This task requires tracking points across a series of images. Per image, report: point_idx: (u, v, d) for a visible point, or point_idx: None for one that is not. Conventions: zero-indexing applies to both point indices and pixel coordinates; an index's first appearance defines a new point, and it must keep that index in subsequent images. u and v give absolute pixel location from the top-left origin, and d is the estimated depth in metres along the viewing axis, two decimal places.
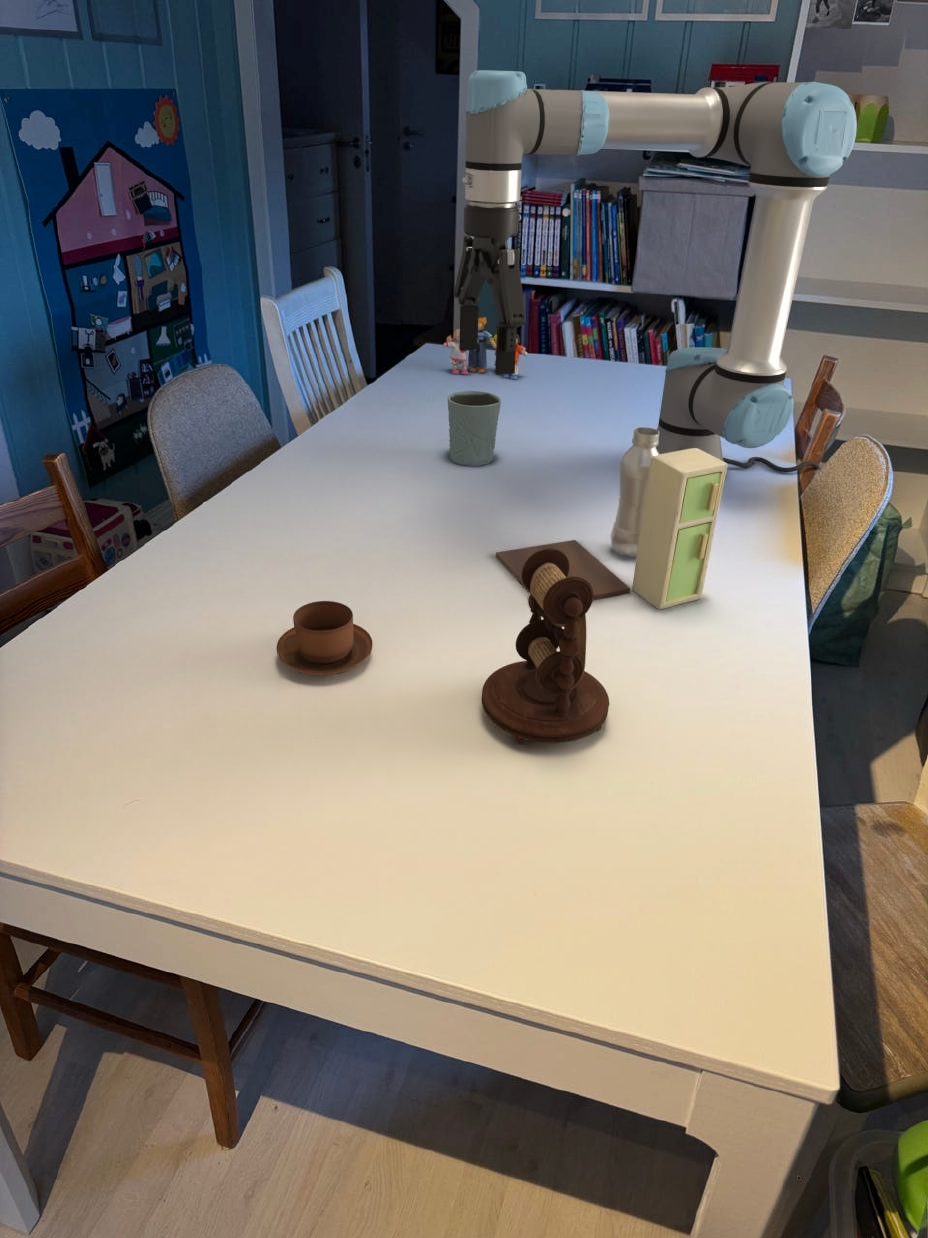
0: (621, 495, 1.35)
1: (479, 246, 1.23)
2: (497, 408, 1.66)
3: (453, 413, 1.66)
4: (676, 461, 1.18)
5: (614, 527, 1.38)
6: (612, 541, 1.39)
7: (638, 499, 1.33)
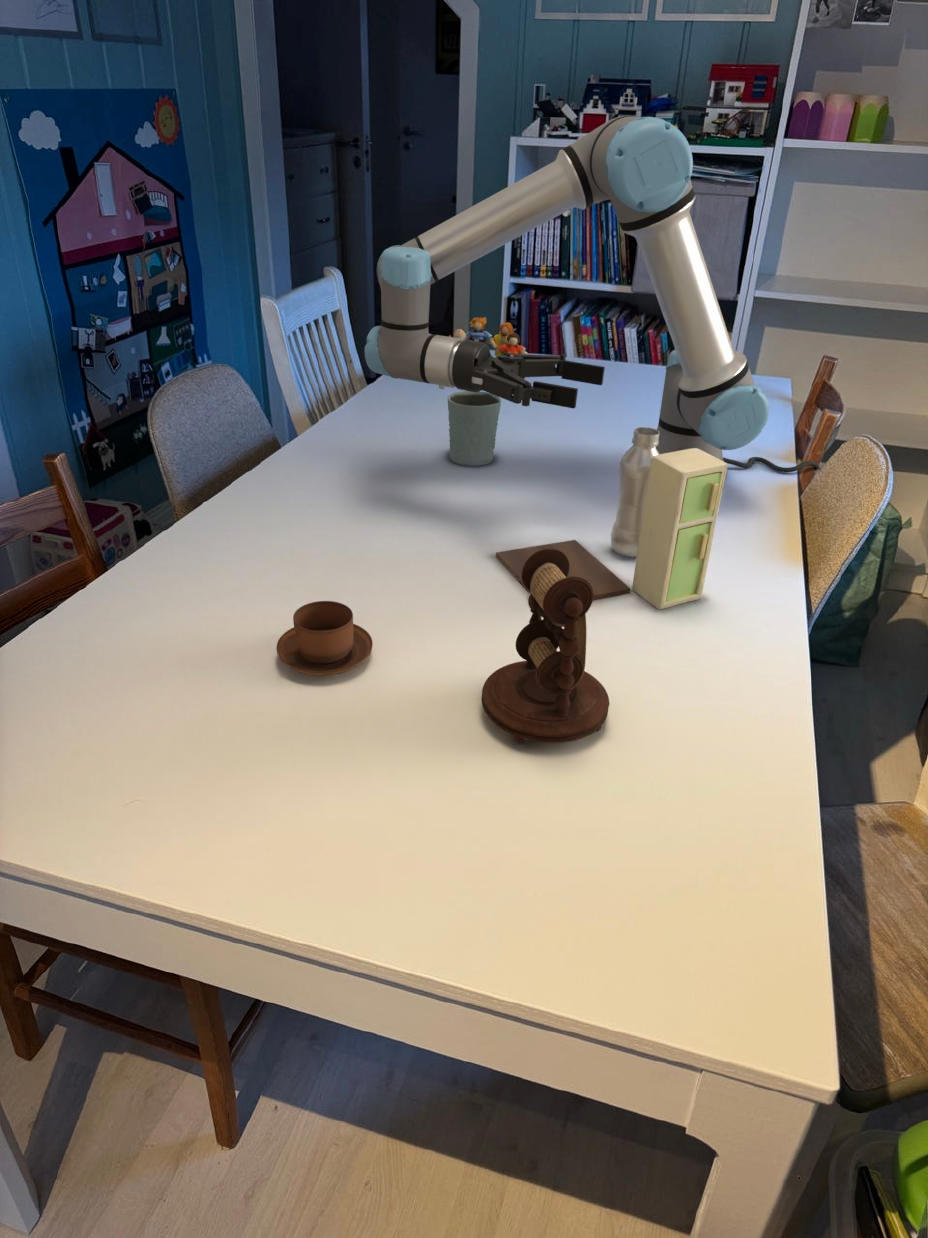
0: (621, 495, 1.35)
1: None
2: (497, 408, 1.66)
3: (453, 413, 1.66)
4: (676, 461, 1.18)
5: (614, 527, 1.38)
6: (612, 541, 1.39)
7: (638, 499, 1.33)
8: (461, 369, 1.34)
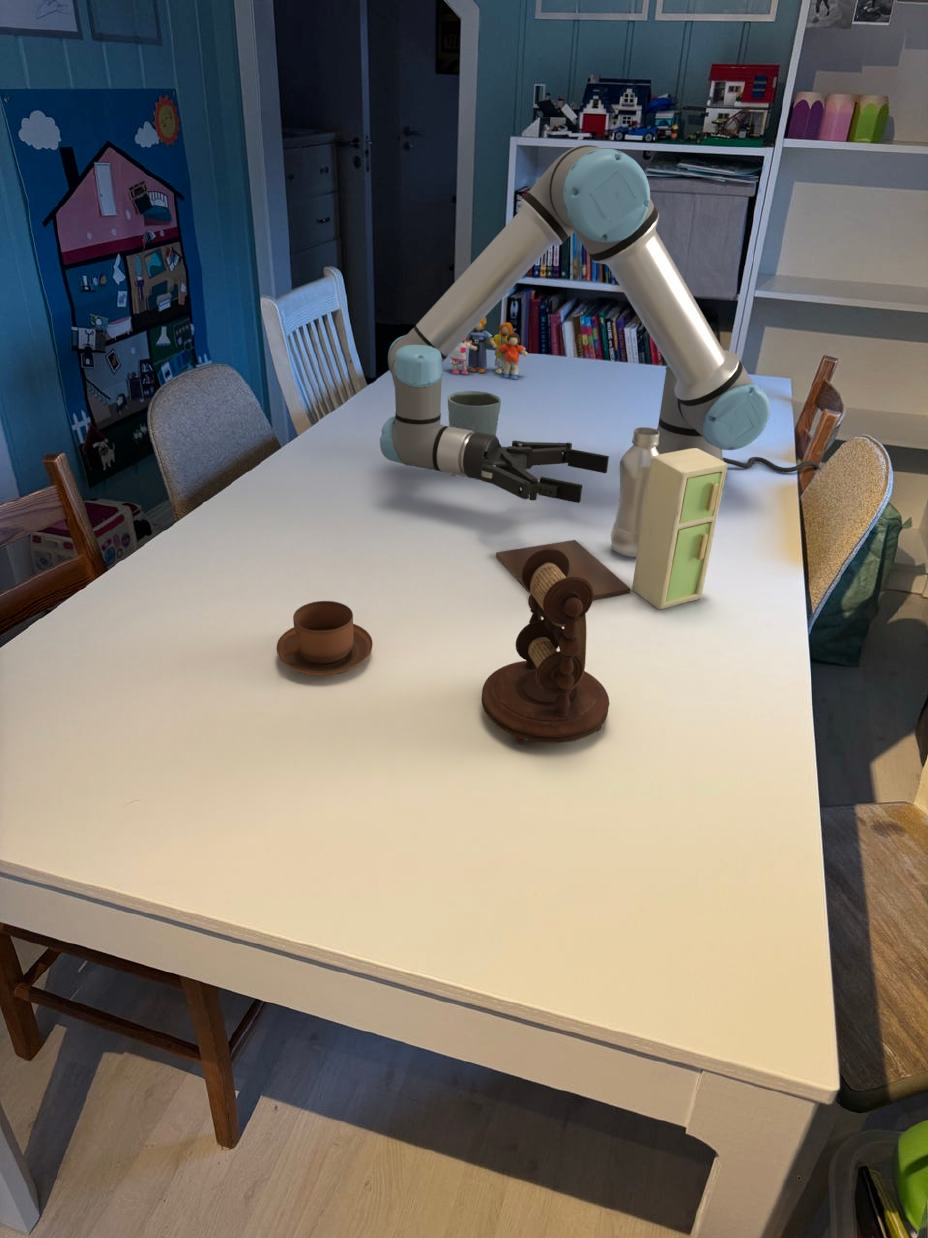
0: (621, 495, 1.35)
1: None
2: (497, 408, 1.66)
3: (453, 413, 1.66)
4: (676, 461, 1.18)
5: (614, 527, 1.38)
6: (612, 541, 1.39)
7: (638, 499, 1.33)
8: (471, 461, 1.41)
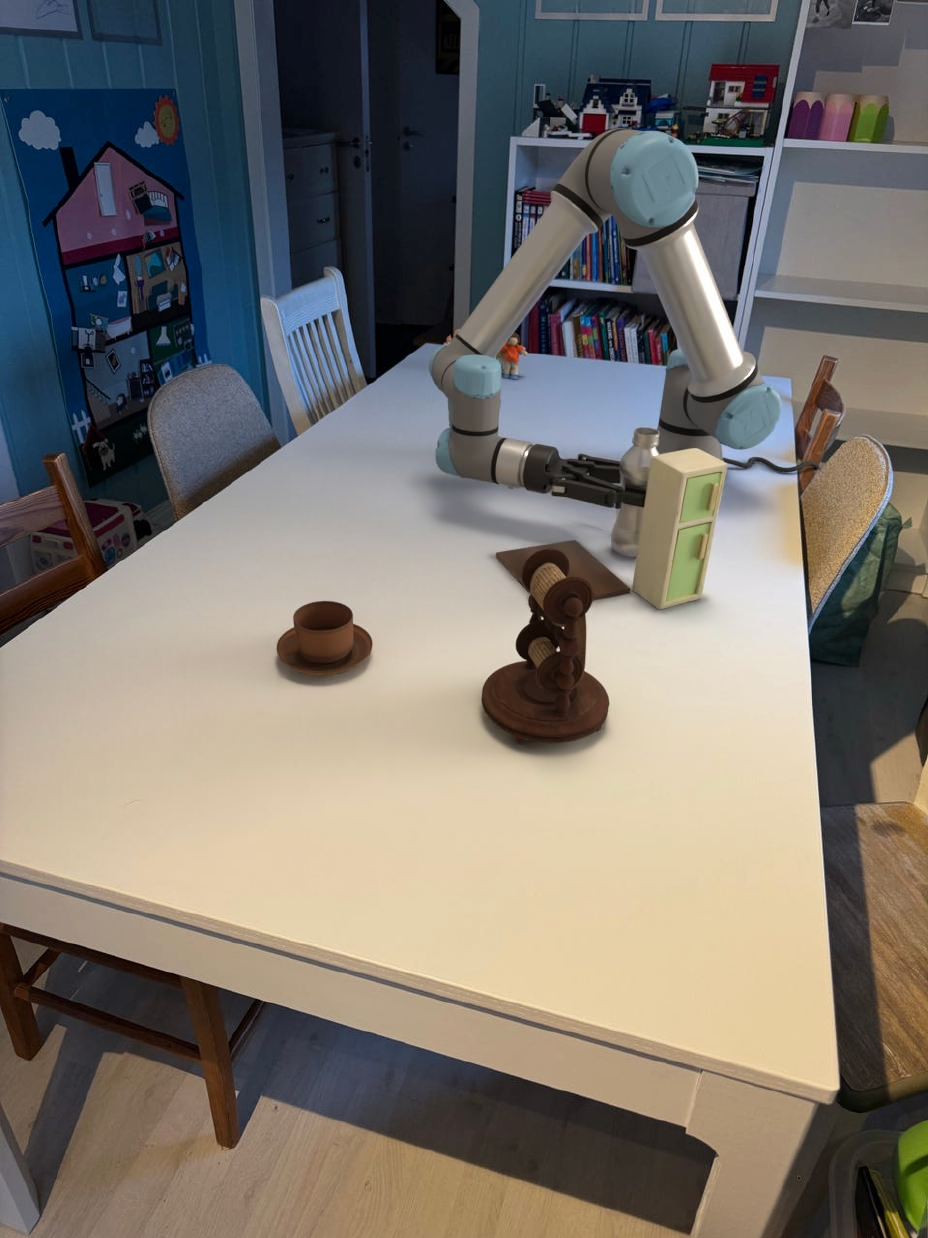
0: None
1: None
2: None
3: None
4: (676, 461, 1.18)
5: (614, 527, 1.38)
6: (612, 541, 1.39)
7: None
8: (532, 474, 1.37)
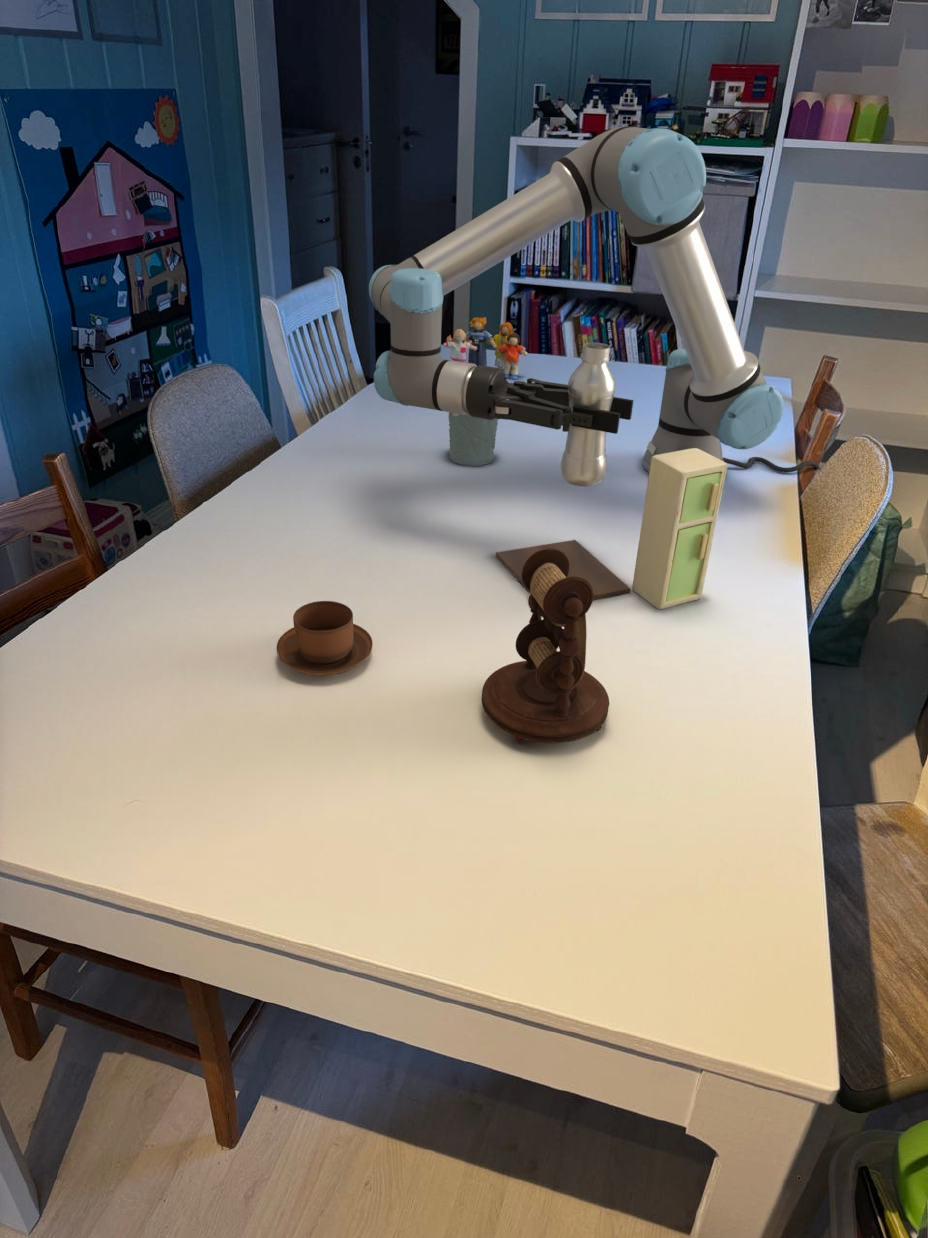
0: None
1: None
2: None
3: None
4: (676, 461, 1.18)
5: (564, 454, 1.28)
6: (562, 470, 1.29)
7: None
8: (475, 397, 1.27)
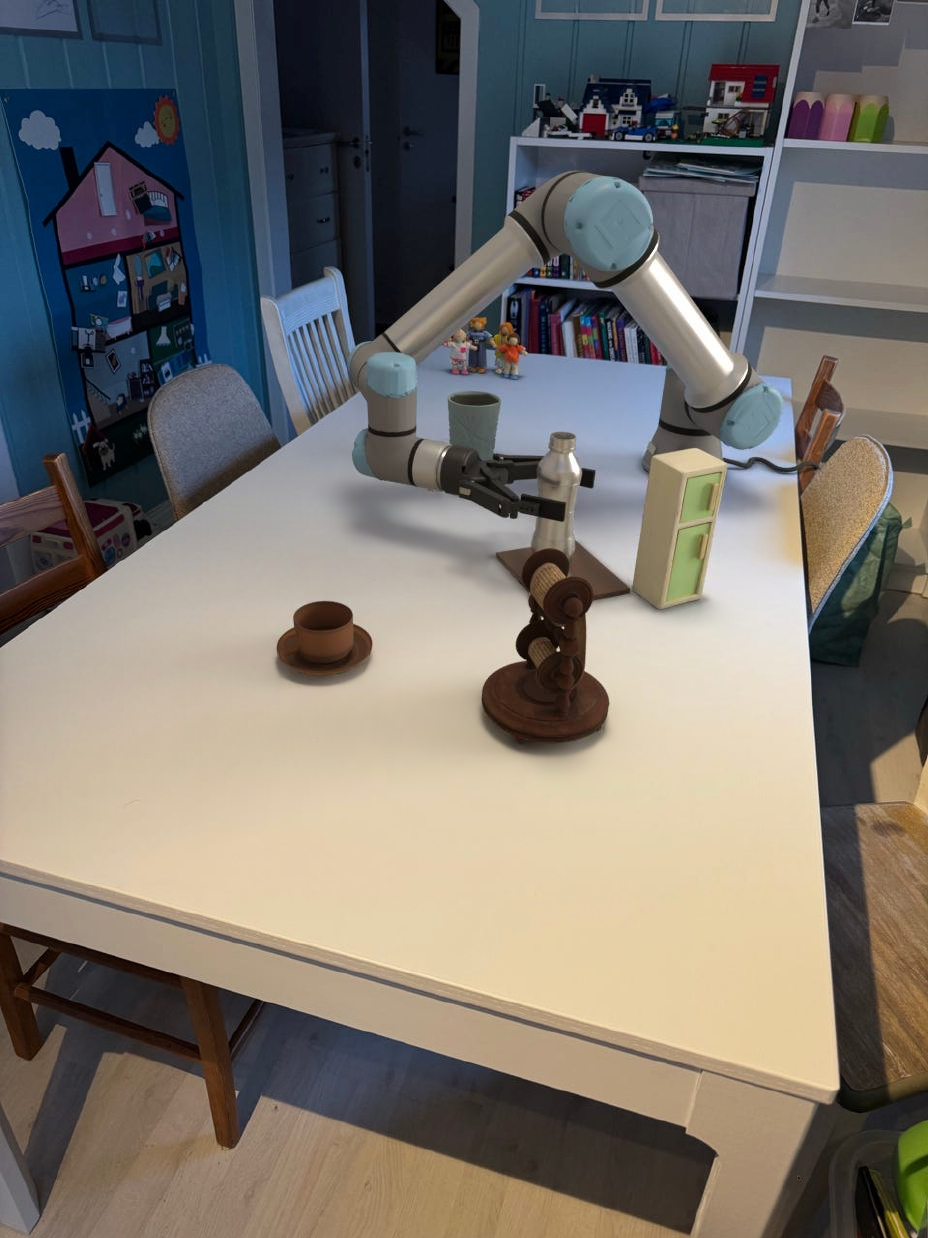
0: None
1: None
2: (497, 408, 1.66)
3: (453, 413, 1.66)
4: (676, 461, 1.18)
5: (534, 535, 1.33)
6: (532, 549, 1.34)
7: None
8: (449, 477, 1.32)
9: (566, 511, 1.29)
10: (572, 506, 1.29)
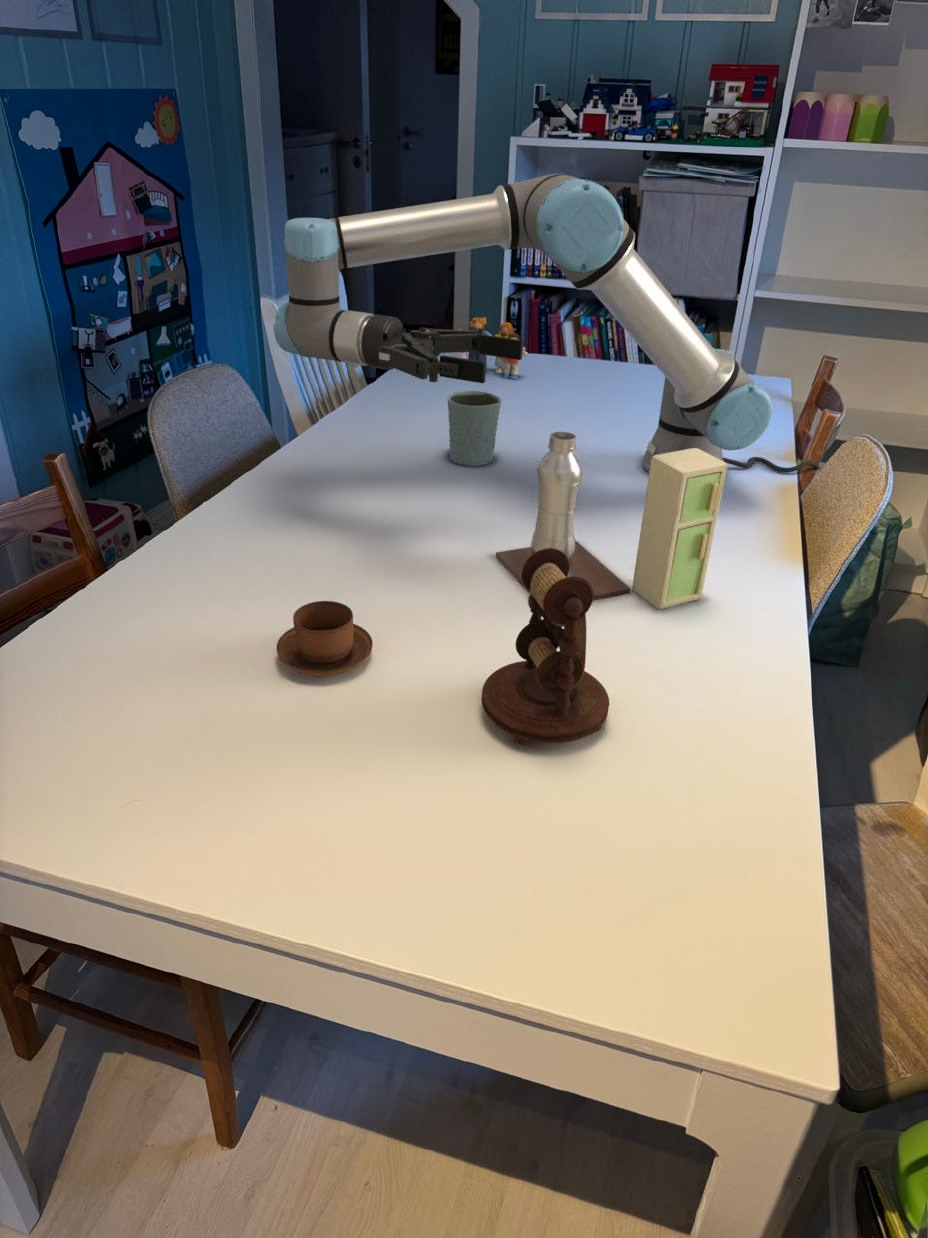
0: (539, 502, 1.30)
1: None
2: (497, 408, 1.66)
3: (453, 413, 1.66)
4: (676, 461, 1.18)
5: (534, 535, 1.33)
6: (532, 549, 1.34)
7: (556, 506, 1.28)
8: (370, 345, 1.27)
9: (566, 511, 1.29)
10: (572, 506, 1.29)
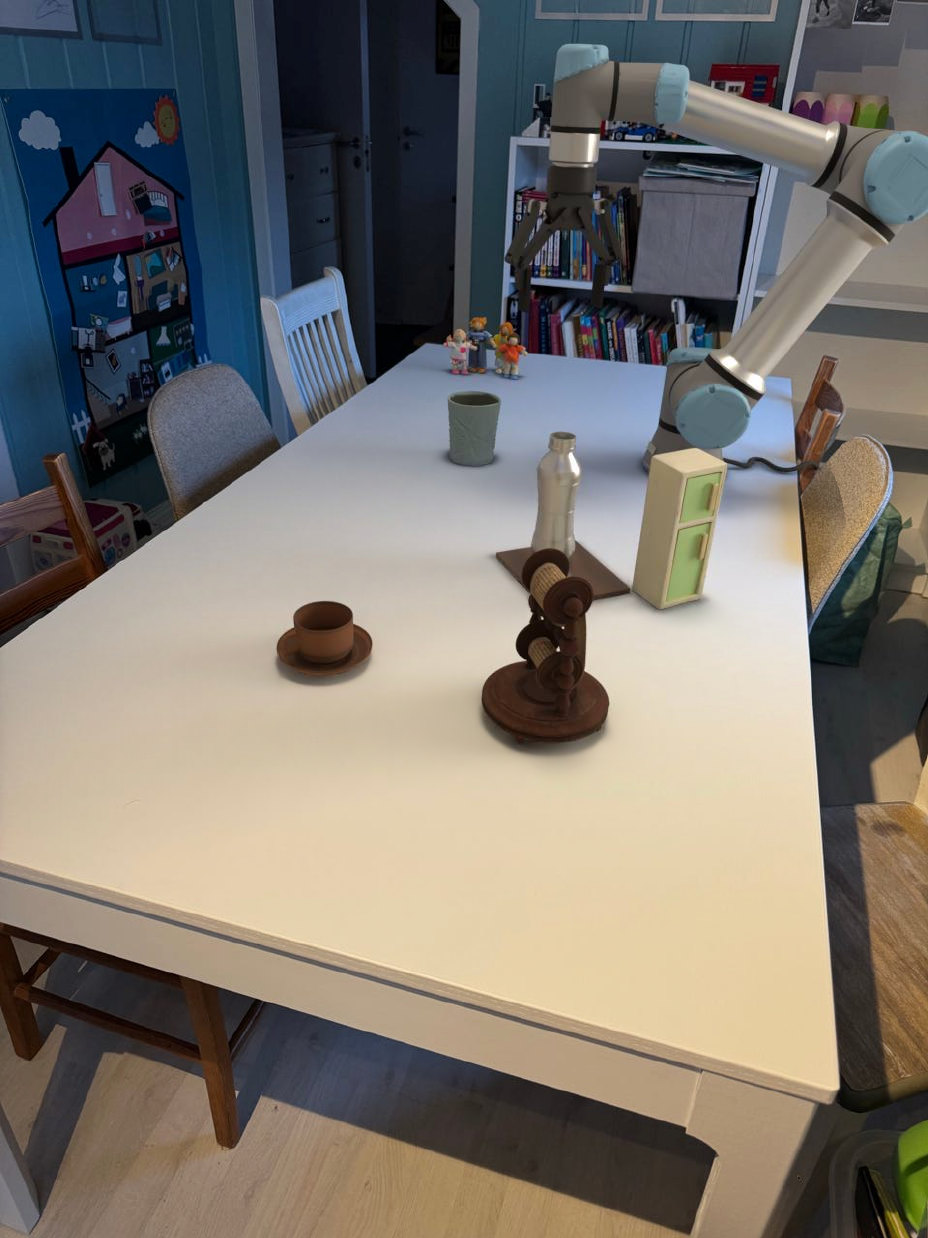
0: (539, 502, 1.30)
1: None
2: (497, 408, 1.66)
3: (453, 413, 1.66)
4: (676, 461, 1.18)
5: (534, 535, 1.33)
6: (532, 549, 1.34)
7: (556, 506, 1.28)
8: (550, 178, 1.34)
9: (566, 511, 1.29)
10: (572, 506, 1.29)
